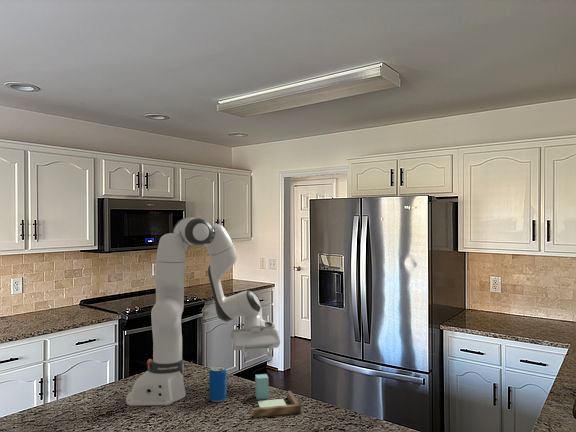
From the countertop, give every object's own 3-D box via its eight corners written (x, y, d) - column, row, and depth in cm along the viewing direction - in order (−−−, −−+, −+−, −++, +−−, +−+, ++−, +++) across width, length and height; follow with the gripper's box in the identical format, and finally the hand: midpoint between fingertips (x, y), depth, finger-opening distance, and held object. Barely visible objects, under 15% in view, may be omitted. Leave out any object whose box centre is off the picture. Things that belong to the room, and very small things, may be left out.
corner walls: (253, 417, 157) (253, 410, 157) (247, 400, 172) (247, 394, 172) (300, 412, 161) (300, 405, 161) (290, 397, 175) (290, 390, 176)
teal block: (257, 399, 173) (257, 378, 173) (255, 395, 178) (255, 374, 178) (268, 398, 174) (268, 377, 174) (266, 394, 179) (266, 373, 179)
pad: (261, 412, 161) (261, 411, 161) (257, 401, 171) (257, 401, 171) (289, 409, 163) (289, 409, 163) (283, 399, 173) (283, 398, 173)
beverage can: (222, 403, 169) (223, 371, 169) (206, 402, 170) (206, 370, 171) (228, 397, 175) (228, 366, 176) (212, 395, 177) (213, 365, 177)
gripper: (230, 325, 191) (233, 355, 181) (277, 322, 195) (283, 351, 186) (229, 333, 195) (232, 363, 185) (275, 330, 200) (280, 359, 190)
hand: (258, 357), depth 185 cm, fingers open, 8 cm apart
